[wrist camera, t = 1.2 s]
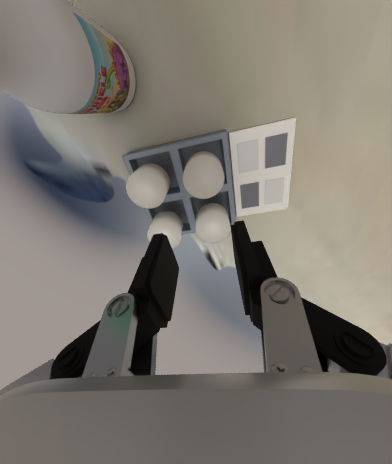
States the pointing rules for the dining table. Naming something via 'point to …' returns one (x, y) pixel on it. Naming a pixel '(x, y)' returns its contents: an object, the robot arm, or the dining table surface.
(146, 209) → the button board
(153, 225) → the button
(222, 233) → the button
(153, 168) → the button
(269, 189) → the card
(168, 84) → the dining table surface
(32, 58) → the milk bottle
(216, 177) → the button
